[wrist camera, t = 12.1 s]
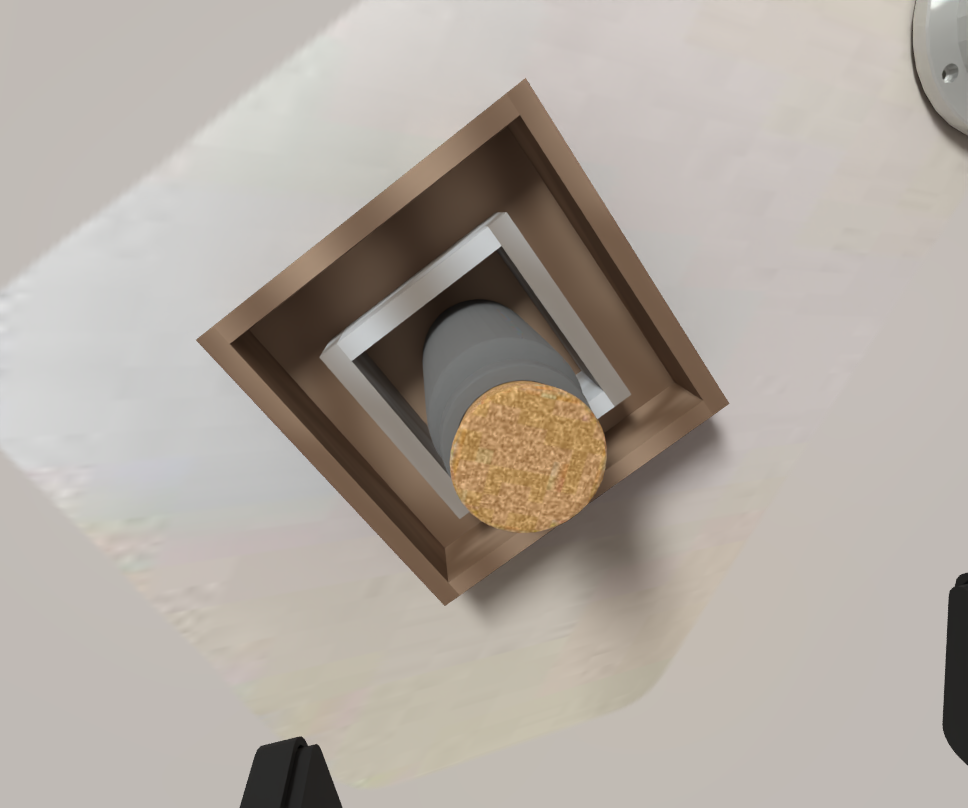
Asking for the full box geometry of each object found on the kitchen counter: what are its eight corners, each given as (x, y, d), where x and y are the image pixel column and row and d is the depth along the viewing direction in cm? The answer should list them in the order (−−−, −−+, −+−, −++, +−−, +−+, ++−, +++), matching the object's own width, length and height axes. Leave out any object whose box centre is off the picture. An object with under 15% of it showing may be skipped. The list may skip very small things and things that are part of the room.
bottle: (459, 276, 31) (500, 327, 17) (553, 335, 32) (664, 429, 18) (401, 372, 32) (392, 497, 18) (494, 426, 34) (555, 581, 19)
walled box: (509, 97, 30) (527, 75, 25) (690, 380, 35) (734, 406, 30) (225, 322, 31) (192, 342, 27) (440, 560, 37) (445, 611, 32)
